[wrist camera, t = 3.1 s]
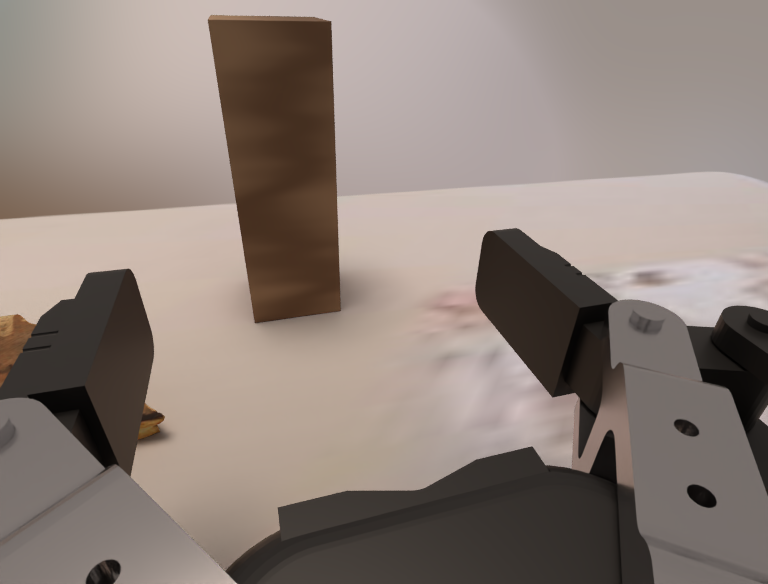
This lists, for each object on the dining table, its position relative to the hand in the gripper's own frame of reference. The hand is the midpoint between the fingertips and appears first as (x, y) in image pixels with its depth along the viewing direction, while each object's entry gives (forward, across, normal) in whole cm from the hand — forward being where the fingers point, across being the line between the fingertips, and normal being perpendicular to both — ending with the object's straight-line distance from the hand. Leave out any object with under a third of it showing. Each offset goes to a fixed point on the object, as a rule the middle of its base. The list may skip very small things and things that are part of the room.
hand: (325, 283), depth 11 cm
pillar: (+11, 0, +7) cm, 13 cm away
